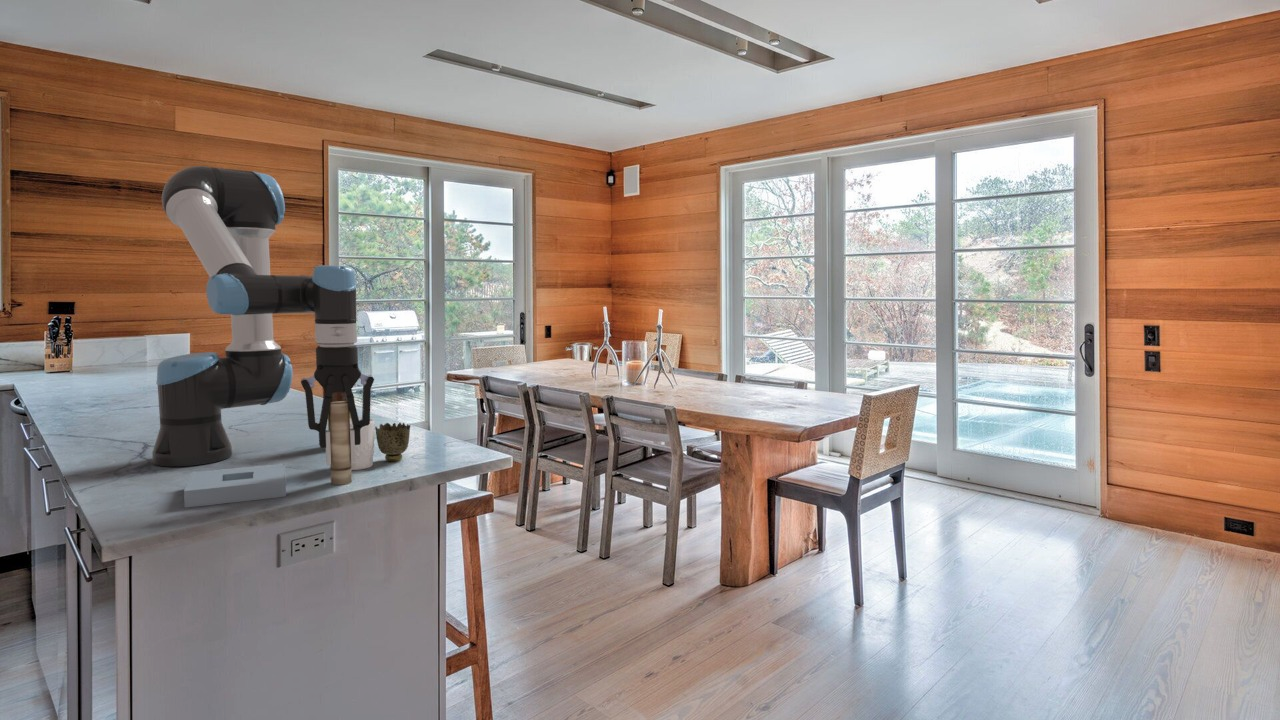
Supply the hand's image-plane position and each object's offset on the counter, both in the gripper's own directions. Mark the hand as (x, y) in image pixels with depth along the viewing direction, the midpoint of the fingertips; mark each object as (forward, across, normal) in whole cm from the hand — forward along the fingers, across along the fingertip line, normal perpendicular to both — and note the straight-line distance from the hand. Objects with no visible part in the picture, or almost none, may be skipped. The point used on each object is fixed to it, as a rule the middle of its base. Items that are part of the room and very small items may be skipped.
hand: (340, 462), depth 143 cm
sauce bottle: (+4, +3, +34) cm, 34 cm away
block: (+4, -18, +1) cm, 18 cm away
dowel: (+4, 0, 0) cm, 4 cm away
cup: (+4, +12, +14) cm, 19 cm away
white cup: (+4, +4, +12) cm, 13 cm away
